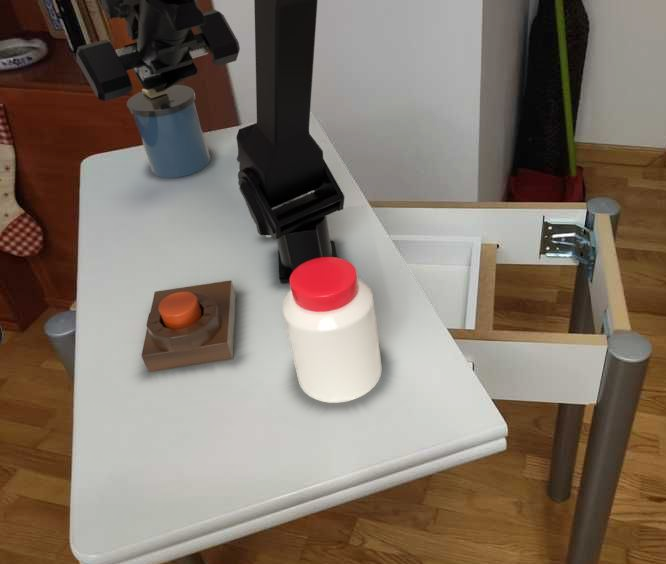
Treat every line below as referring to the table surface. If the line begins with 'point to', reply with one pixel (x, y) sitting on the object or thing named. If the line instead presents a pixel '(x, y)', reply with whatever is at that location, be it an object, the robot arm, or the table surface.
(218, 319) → the button block
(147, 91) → the cream wedge block
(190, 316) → the button
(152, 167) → the travel cup
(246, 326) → the table surface
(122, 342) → the table surface
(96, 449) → the table surface
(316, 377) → the pill bottle
